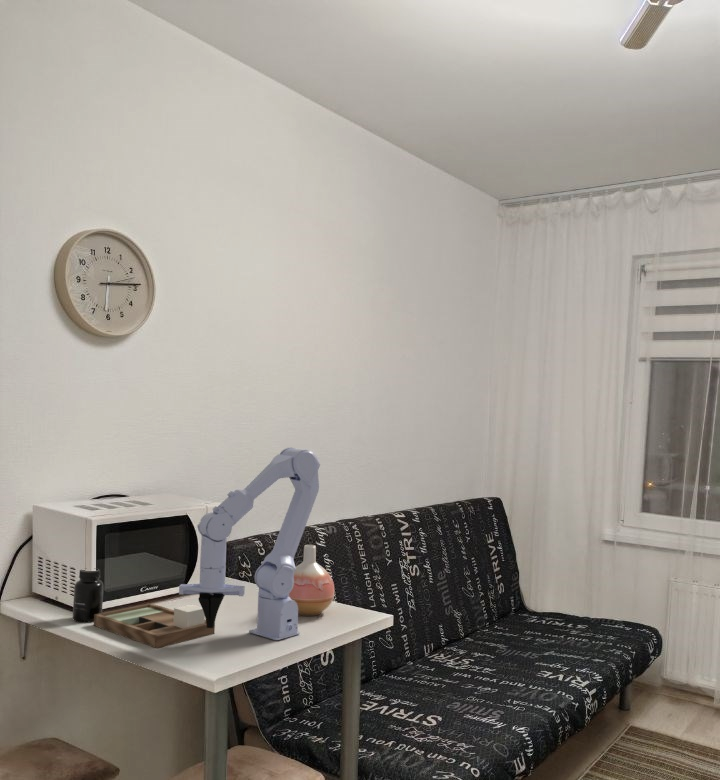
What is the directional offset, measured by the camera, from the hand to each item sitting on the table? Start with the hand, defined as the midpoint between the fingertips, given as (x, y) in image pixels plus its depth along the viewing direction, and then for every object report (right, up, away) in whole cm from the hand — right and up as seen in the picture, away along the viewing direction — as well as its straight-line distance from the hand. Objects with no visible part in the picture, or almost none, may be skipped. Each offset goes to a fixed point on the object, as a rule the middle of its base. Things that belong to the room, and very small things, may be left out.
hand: (210, 626), depth 175 cm
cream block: (-6, -1, +5) cm, 8 cm away
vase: (+20, -5, +27) cm, 34 cm away
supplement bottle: (-33, -3, +15) cm, 36 cm away
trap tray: (-15, -3, +8) cm, 17 cm away
